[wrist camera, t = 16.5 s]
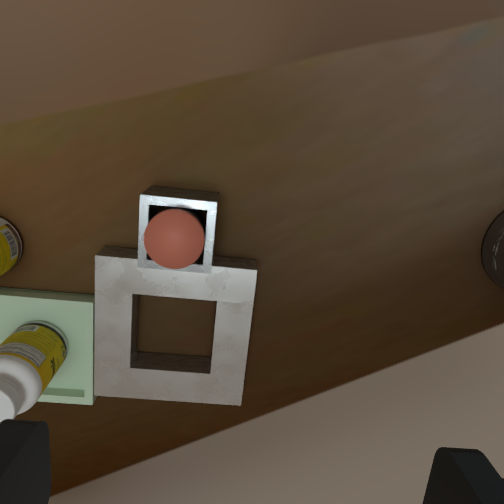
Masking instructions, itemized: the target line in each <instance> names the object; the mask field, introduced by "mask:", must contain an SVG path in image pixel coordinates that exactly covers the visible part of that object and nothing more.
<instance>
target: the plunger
mask: <svg viewBox="0 0 504 504" xmlns="http://www.w3.org/2000/svg"><path fill="white" fill-rule="evenodd" d="M203 225H204V224H203V218H202V216H201V214H200V213H199V211H198V210H197V209H190V208H180V207H168V208H167V209H166V210H164V211H162V212H160V213H158V214H157V215H155V216H154V217H153V218H152V220H151V221H150V222H149V223H148V225H147V227H146V229H145V232H144V246H145V249H146V251H147V253H148V255H149V256H150V258H151V259H152V260H153V261H154V262H156V263H157V264H159V265H160V266H163V267H165V268H169V269H181V268H185V267H187V266H189V265H191V264H193V263H194V262H195V261H196V260H197V259H198V258H199V256H200V255H201V253H202V250H203V247H204V242H205V234H204V230H203Z"/></svg>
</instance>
